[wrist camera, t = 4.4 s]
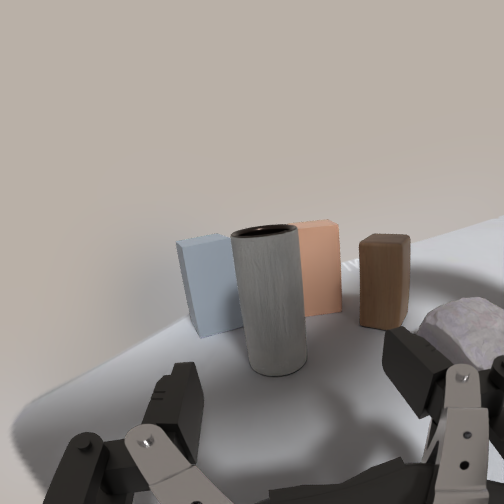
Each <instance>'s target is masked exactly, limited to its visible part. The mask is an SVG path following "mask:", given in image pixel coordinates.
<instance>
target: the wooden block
mask: <svg viewBox="0 0 504 504" xmlns="http://www.w3.org/2000/svg"><path fill="white" fill-rule="evenodd" d="M359 262H360V321H359V323H360V325H361V326H365V327H371V328H376V329H382V330H390V329H393V328H397V327H400V326H401V324H402V322H403V320H404V318H405V316H406V314H407V312H408V300H409V284H410V237H409V236H408V235H403V234H372V235H370V236H369V237H367V238H366V239H364V240H362V241H361V242H360V243H359Z"/></svg>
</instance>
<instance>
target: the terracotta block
mask: <svg viewBox="0 0 504 504" xmlns="http://www.w3.org/2000/svg"><path fill="white" fill-rule="evenodd" d="M288 225H295V226H296V227H297V228H298V235H299V245H300V256H301V268H302V281H303V294H304V309H305V317H307V316H315V315H322V314H329V313H336V312H342V289H341V262H340V243H339V228H338V224H336V223H334V222H332V221H330V220H328V219H327V220H317V221H307V222H299V223H289V224H288Z"/></svg>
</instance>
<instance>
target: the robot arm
mask: <svg viewBox="0 0 504 504" xmlns="http://www.w3.org/2000/svg"><path fill="white" fill-rule="evenodd" d="M382 366H383V370H384V372H385V374H386V375H387V376H388V378H389V379H390V380H391V382H392V383H393V384H394V386H395V387H396V388H397V390H398V391H399V392H400V394H401V395H402V396H403V398H404V399H405V400H406V402H407V403H408V404H409V406H410V407H411V408H412V410H413V411H414V413H415V414H416V415H417V417H418V418H419V419H422V418H424V417H426V416H428V415H430V416H431V421H430V424H429V429H428V435H427V440H426V444H425V449H424V453H423V457H422V460H421V463H406V464H404V462H403V460H402V459H401V457H398V458H396V459H393V460H391V461H388V462H385V463H382V464H380V465H377V466H374V467H371V468H369V469H368V470H366V471H364V472H362V473H360V474H359V475H357V476H355V477H353V478H351V479H349V480H347V481H345V482H343V483H340V484H329V485H300V486H295V487H289V488H282V489H275V490H269V498H268V499H265V500H262V501H260V502H258V503H255V504H504V483H500V482H495V481H490V480H487V469H488V452H489V440H490V442H491V443H492V444H493V446H494V447H495V448H496V450H497V451H498V452H499V454H500V455H501V457H502V458H503V459H504V355H501V356H498V357H496V358H495V359H494V361H493V364H492V367H491V369H486V370H482V371H477V370H476V369H475V368H474V367H473V366H471V365H468V364H456V365H454V364H453V363H452V362H451V361H450V360H449V359H447V358H446V357H445V356H444V355H443V354H442V353H441V352H440V351H438V350H436V348H435V347H434V346H433V345H431V343H429V342H428V341H427V340H426V339H425V338H423V337H421V336H418V335H416V334H412V333H410V332H409V331H408V330H407V329H406V328H405V327H403V326H400V327H397V328H393V329H390V330H387V331H386V332H385V337H384V347H383V356H382ZM153 392H154V393H153V394H152V397H151V400H150V402H149V405H148V407H147V410H146V413H145V416H144V418H143V421H142V424H141V425H139V426H136V427H134V428H132V429H131V430H130V431H129V432H128V433H127V434H126V436H125V439H121V440H115V441H107V442H103V440H102V439H101V438H100V436H98V435H97V434H95V433H91V432H85V433H81V434H78V435H76V436H75V437H73V438H72V439H71V441H70V442H69V444H68V446H67V448H66V450H65V453H64V455H63V457H62V459H61V461H60V463H59V466H58V468H57V470H56V473H55V475H54V477H53V479H52V482H51V484H50V487H49V489H48V491H47V494H46V496H45V499H44V501H43V504H132V502H133V496H134V492H141V491H148V490H151V491H152V492H153V494H154V495H155V497H156V498H157V500H158V501H159V502H160V504H234V503H233V502H232V501H231V500H229V499H228V498H227V497H226V496H225V495H224V494H223V493H222V492H221V491H220V490H219V489H218V488H217V487H216V486H215V485H214V484H213V483H212V482H211V481H210V480H209V479H208V478H207V477H206V476H205V475H204V474H203V473H202V472H201V470H200V469H199V468H198V467H197V466H195V465H191V464H196V463H197V455H198V446H199V438H200V430H201V422H202V414H203V407H204V396H203V391H202V387H201V384H200V380H199V377H198V373H197V370H196V366H195V364H194V362H184V363H175V364H174V367H173V370H172V373H171V375H164V376H163V377H162V378H161V379H160V380H159V381H158V382H157V383H156V386H155V389H154V391H153Z"/></svg>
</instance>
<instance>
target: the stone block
mask: <svg viewBox="0 0 504 504" xmlns="http://www.w3.org/2000/svg"><path fill="white" fill-rule="evenodd" d="M417 335H418V336H421V337H423V338H425V339H426V340H427V341H428V342H429V343H431V345H433V346H434V347H435V348H436V350H438V351H440V352H441V353H442V354H443V355H444V356H445V357H446V358H447V359H449V360H450V361H451V362H452V363H453V364H454V365H456V364H468V365H471V366H473V367H474V368H475V369H476V370H477V371H482V370H486V369H491V367H492V364H493V361H494V359H495V358H496V357H498V356H501V355H504V309H502V308H501V307H499V306H497V305H495V304H493V303H491V302H489V301H488V300H487V299H484V298H481V297H470V298H464V297H462V298H461V299H459V300H456V301H450V302H448V303H446V304H444V305H441V306H439V307H437V308H435V309H433V310H432V311H430V312H429V313H428V314H427V315H426V317H425V318H424V320H423V322H422V323H421V325H420V326H419V330H418V331H417Z"/></svg>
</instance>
